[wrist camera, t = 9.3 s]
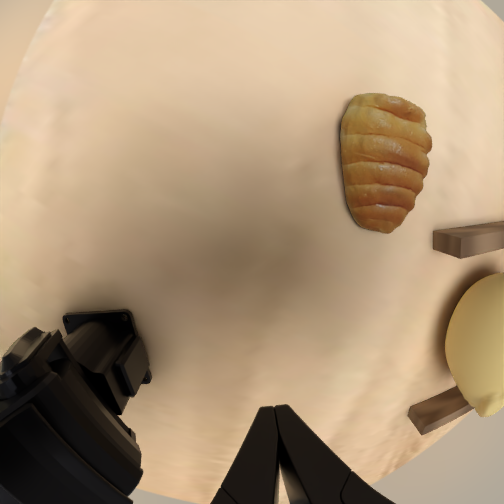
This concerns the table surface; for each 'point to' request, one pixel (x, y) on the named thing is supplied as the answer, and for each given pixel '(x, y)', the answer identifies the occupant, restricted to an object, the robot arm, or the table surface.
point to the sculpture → (479, 345)
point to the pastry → (383, 159)
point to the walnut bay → (460, 246)
